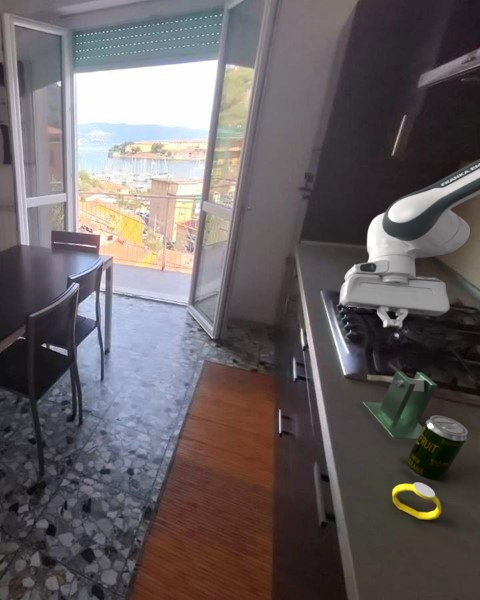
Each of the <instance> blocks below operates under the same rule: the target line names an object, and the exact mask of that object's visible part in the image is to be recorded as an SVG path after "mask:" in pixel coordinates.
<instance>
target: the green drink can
mask: <svg viewBox="0 0 480 600" xmlns="http://www.w3.org/2000/svg"><path fill="white" fill-rule="evenodd" d="M422 427H423V429H422V431H421V433H420V435H419V437H418V439H417V440H416V439H415V440H416V441H415V442H414V444H413V446H412V449H411V450H410V452H409V454H408V456H407V458H406V465H407V466H408V467H409V469H410V470H411V471H413V472H414V473H415V474H417V475H418V476H420V477H422V478H424V479H426V480H427V479H428V480H430V481H437V482H438V481H442V480H443V479H444V478H445V476H446V474H447V473H448V472H449V469H450V468H451V467H452V465H453V463H454V461H455V459H456V457H457V456H458V454H459V453H460V452H461V449H462V447H463V446H464V444H465V443H466V441H467V439H468V433H469V432H468V429H467V428H466V426H464V425H463V424H462V423H460V422H458V421H456V420H454V419H453V418H450V417H447V416H443V415H436V414H435V415H431V416H430V417H429V418H428V419H427V420H426V421H425V423H424V425H423V426H422Z"/></svg>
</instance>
